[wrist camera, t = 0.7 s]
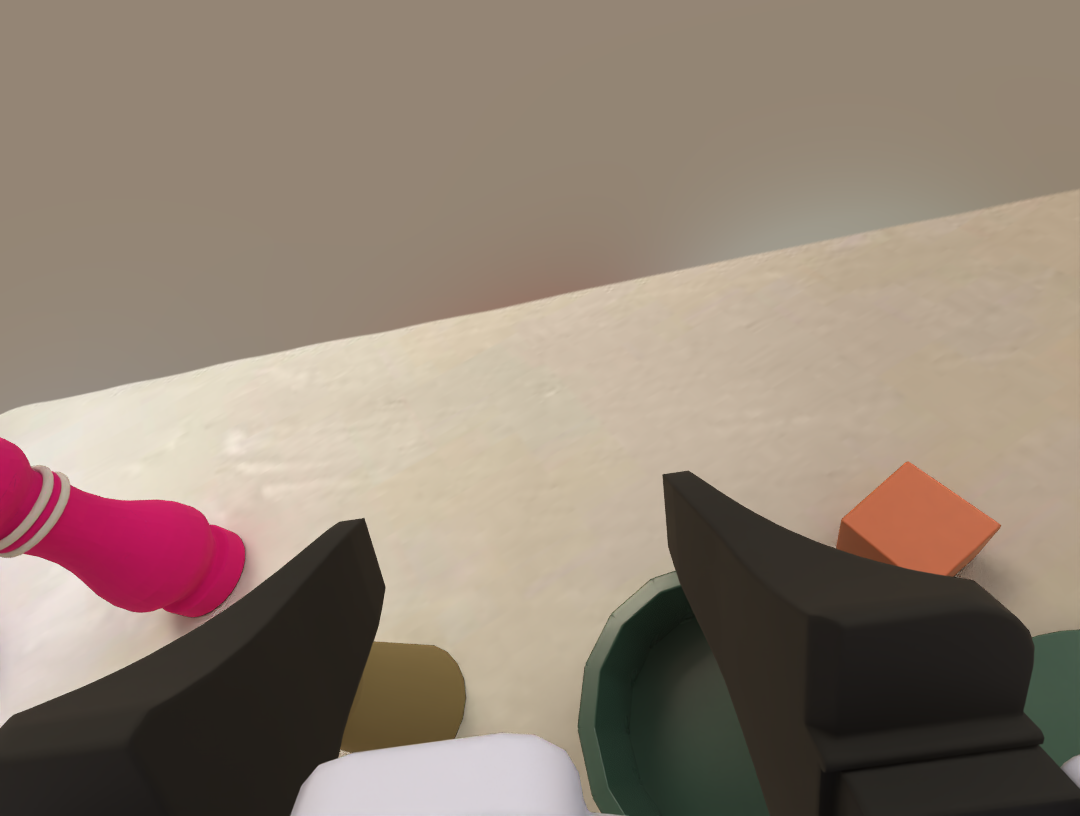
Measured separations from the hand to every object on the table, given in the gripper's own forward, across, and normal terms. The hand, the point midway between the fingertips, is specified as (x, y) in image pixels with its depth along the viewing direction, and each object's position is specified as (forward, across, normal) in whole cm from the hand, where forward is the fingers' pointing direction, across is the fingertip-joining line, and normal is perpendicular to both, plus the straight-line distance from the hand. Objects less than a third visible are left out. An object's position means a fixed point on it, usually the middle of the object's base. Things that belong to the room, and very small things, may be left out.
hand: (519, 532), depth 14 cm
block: (+10, -16, +11) cm, 22 cm away
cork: (+12, +9, +18) cm, 23 cm away
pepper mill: (+24, +25, +15) cm, 38 cm away
